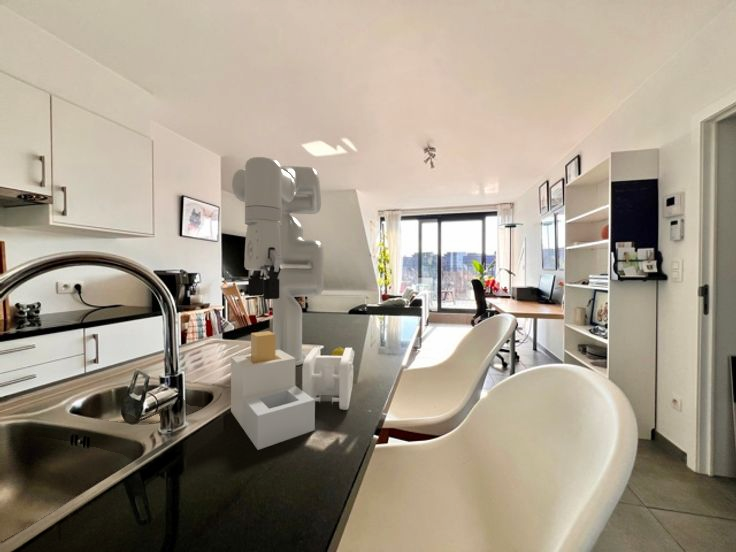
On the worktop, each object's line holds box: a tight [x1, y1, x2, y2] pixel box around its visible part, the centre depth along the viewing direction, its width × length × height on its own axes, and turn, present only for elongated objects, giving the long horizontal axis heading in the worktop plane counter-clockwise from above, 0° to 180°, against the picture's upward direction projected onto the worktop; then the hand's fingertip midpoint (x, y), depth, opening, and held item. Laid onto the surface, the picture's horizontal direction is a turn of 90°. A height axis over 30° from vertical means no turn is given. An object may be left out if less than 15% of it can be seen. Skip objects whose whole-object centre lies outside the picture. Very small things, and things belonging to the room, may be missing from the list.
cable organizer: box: [301, 346, 355, 411], centre depth 74 cm, size 15×11×12 cm
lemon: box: [330, 346, 345, 356], centre depth 93 cm, size 6×6×8 cm
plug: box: [250, 330, 276, 364], centre depth 67 cm, size 4×4×8 cm
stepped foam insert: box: [230, 350, 316, 451], centre depth 64 cm, size 18×11×12 cm, turn 38°
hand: (263, 297), depth 66 cm, fingers open, 9 cm apart
